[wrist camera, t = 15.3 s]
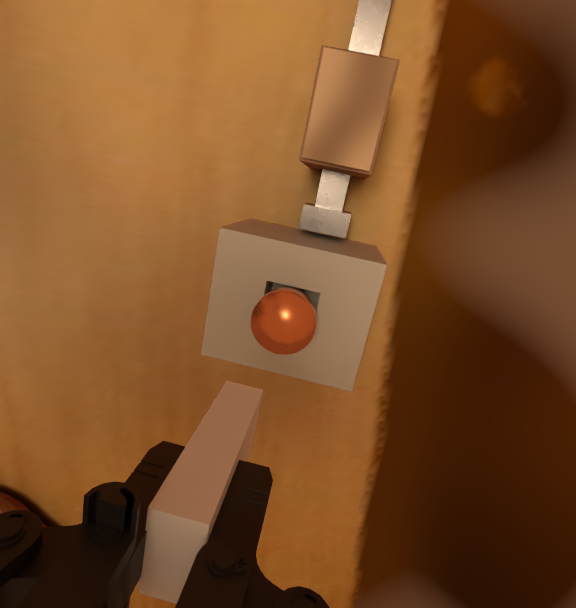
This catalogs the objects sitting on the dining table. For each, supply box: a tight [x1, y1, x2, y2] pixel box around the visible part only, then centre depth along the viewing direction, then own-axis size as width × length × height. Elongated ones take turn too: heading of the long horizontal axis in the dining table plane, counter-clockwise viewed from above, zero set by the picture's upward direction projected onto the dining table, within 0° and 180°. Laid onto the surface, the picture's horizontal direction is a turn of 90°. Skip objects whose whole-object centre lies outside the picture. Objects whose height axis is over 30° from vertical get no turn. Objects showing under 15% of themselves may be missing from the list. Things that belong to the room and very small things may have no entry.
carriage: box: [299, 45, 400, 179], centre depth 30 cm, size 5×7×9 cm
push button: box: [251, 285, 317, 355], centre depth 30 cm, size 4×4×6 cm
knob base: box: [201, 219, 387, 392], centre depth 34 cm, size 12×10×10 cm
